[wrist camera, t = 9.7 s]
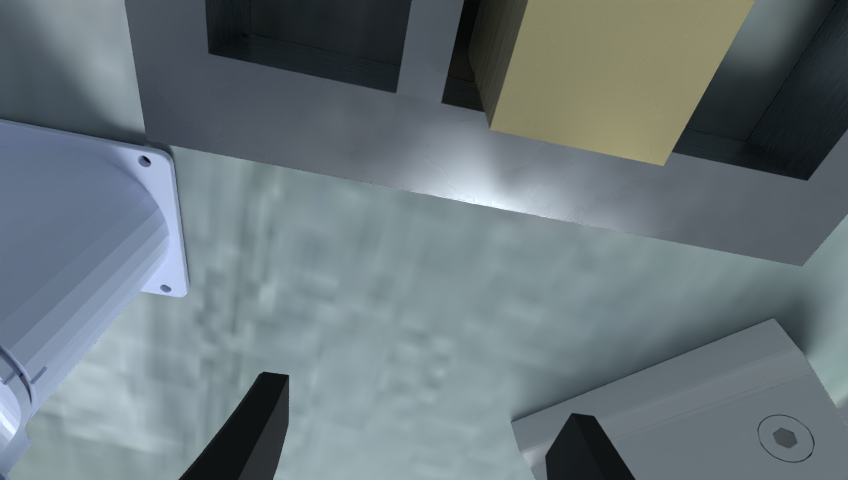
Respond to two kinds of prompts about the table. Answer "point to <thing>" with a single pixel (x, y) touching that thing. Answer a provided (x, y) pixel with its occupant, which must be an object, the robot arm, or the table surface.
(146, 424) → the table surface
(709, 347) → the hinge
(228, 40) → the grey block holder
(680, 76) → the brass block
